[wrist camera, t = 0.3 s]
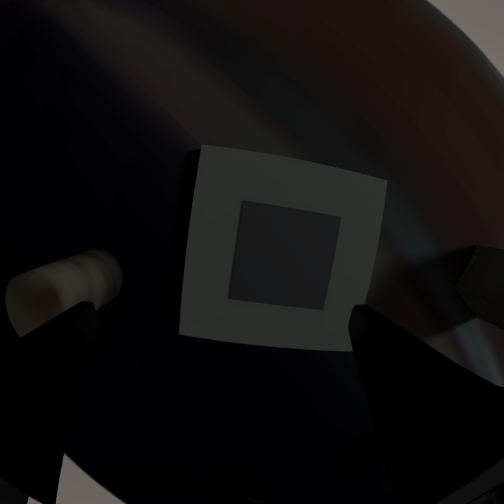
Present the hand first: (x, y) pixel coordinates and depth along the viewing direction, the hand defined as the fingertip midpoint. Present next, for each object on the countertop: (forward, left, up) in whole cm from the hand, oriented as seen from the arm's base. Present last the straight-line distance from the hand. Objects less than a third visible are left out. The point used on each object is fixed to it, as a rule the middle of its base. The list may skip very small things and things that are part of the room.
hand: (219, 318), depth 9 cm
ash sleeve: (-10, +7, -15) cm, 20 cm away
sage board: (+3, -4, -15) cm, 16 cm away
